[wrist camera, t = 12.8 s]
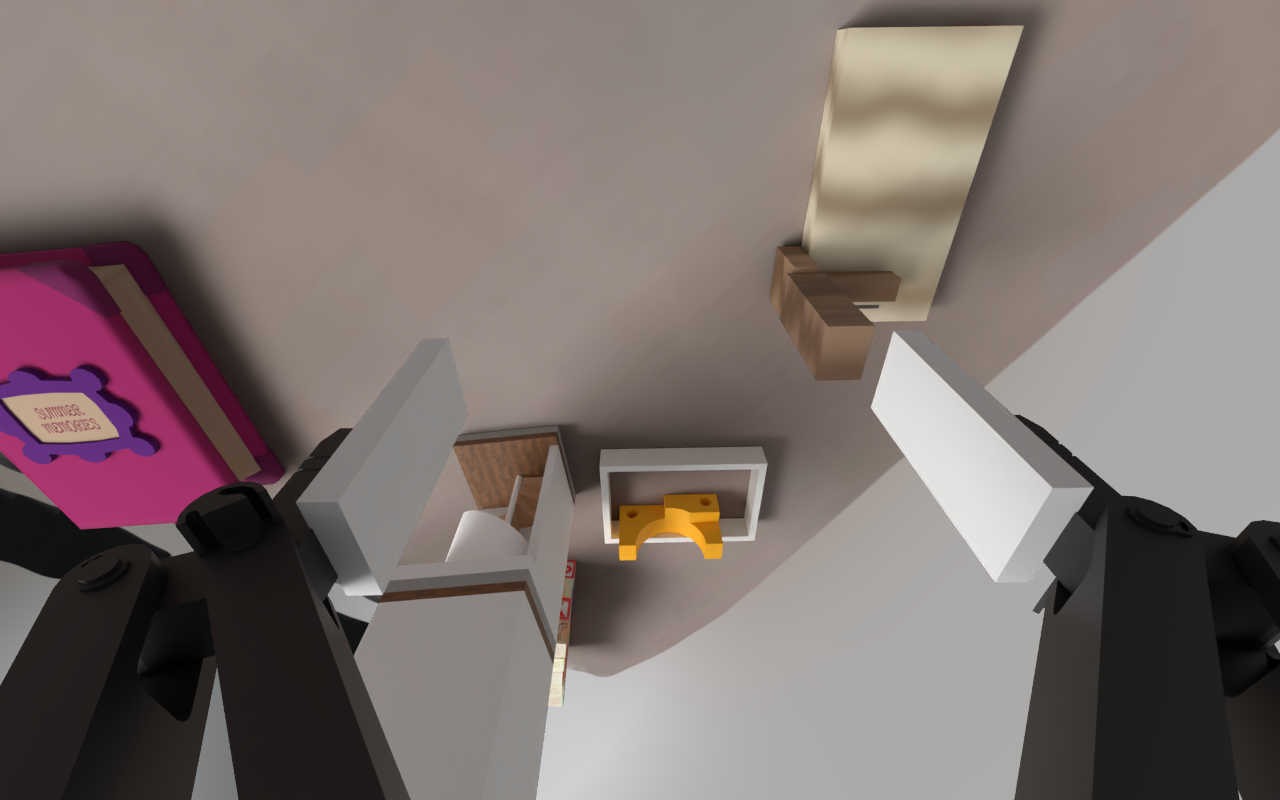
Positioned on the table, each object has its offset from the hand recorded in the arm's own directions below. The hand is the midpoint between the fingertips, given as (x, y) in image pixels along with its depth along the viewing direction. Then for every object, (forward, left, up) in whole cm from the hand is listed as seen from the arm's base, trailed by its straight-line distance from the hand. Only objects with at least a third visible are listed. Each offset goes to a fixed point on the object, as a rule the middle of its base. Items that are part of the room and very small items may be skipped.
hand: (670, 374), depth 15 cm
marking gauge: (+8, +16, -31) cm, 36 cm away
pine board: (+1, +20, -32) cm, 37 cm away
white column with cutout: (+31, -15, -32) cm, 47 cm away
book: (+19, -54, -32) cm, 66 cm away
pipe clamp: (+38, +3, -32) cm, 50 cm away
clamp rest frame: (+35, +4, -32) cm, 47 cm away
